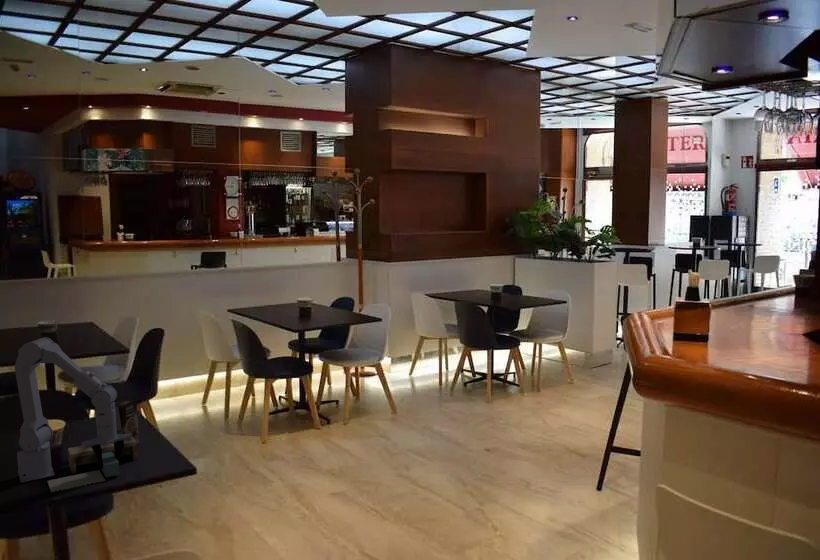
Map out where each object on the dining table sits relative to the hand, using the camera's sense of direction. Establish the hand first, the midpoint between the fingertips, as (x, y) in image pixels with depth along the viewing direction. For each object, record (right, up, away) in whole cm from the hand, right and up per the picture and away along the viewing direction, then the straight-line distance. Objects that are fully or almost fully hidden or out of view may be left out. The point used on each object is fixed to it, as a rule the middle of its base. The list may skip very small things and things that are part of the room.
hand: (109, 466), depth 220 cm
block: (0, -2, +1) cm, 2 cm away
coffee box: (-6, 0, +25) cm, 26 cm away
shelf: (-6, -2, +9) cm, 11 cm away
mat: (-8, -3, -6) cm, 10 cm away
